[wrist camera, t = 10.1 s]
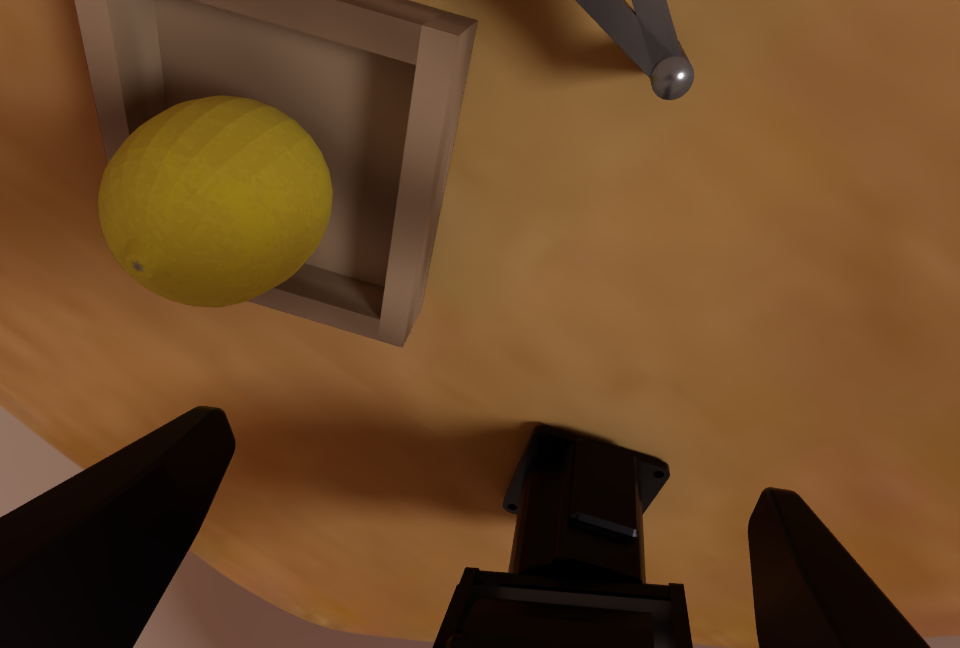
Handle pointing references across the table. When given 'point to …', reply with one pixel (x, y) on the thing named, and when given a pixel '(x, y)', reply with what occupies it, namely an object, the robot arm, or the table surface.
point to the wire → (646, 41)
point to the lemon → (215, 201)
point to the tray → (312, 122)
